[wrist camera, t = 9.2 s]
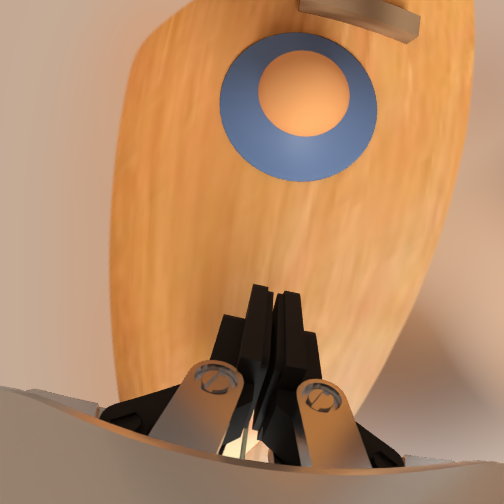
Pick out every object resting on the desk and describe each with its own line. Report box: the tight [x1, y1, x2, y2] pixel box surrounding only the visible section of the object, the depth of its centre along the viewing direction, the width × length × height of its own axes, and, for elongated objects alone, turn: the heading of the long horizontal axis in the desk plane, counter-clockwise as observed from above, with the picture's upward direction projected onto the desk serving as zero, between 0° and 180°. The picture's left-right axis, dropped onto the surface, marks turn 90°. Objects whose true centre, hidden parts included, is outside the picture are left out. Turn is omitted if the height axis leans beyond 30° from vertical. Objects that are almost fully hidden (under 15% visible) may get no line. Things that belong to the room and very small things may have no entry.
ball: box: [258, 50, 350, 137], centre depth 18 cm, size 6×6×6 cm
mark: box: [220, 33, 377, 182], centre depth 21 cm, size 12×12×1 cm
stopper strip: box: [299, 0, 420, 44], centre depth 17 cm, size 9×2×2 cm, turn 79°
